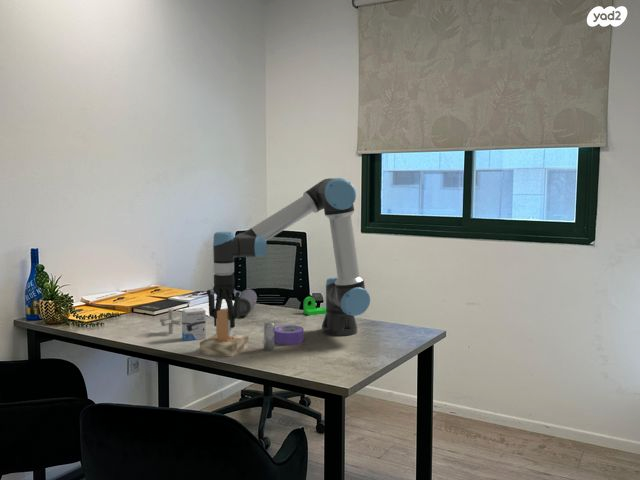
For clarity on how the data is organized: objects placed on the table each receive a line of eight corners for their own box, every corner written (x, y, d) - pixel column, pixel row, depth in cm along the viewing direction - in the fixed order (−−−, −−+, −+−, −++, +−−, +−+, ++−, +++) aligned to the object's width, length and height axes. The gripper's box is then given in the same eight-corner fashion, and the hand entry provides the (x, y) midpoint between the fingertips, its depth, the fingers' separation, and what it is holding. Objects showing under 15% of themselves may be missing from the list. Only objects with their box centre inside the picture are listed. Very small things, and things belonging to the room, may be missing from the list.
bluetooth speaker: (252, 318, 266) (252, 297, 265) (232, 318, 267) (232, 296, 266) (258, 307, 289) (258, 288, 288) (239, 307, 289) (239, 287, 288)
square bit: (231, 341, 217) (231, 309, 216) (227, 343, 213) (226, 311, 212) (222, 340, 218) (221, 308, 217) (217, 342, 215) (216, 311, 213)
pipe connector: (188, 331, 241) (188, 308, 240) (173, 337, 232) (172, 313, 231) (169, 329, 246) (169, 306, 245) (153, 334, 237) (152, 310, 236)
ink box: (185, 341, 227) (184, 312, 226) (182, 338, 232) (181, 309, 230) (206, 338, 231) (206, 309, 230) (202, 335, 235) (202, 307, 234)
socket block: (248, 346, 221) (248, 336, 221) (232, 356, 208) (232, 345, 207) (217, 343, 225) (217, 333, 224) (199, 353, 212) (199, 342, 211)
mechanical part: (309, 316, 272) (309, 299, 272) (303, 313, 278) (303, 297, 277) (331, 313, 278) (331, 297, 277) (325, 311, 283) (325, 295, 283)
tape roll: (292, 346, 221) (292, 334, 221) (267, 342, 227) (267, 329, 227) (309, 339, 231) (309, 327, 231) (285, 335, 237) (285, 323, 237)
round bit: (275, 348, 218) (276, 322, 218) (272, 351, 215) (272, 324, 214) (265, 347, 219) (266, 321, 219) (262, 350, 216) (262, 323, 215)
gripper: (249, 273, 214) (249, 335, 217) (208, 271, 220) (208, 331, 222) (240, 276, 207) (241, 340, 210) (198, 273, 212) (199, 336, 215)
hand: (224, 335), depth 216 cm, fingers closed on square bit, 4 cm apart
